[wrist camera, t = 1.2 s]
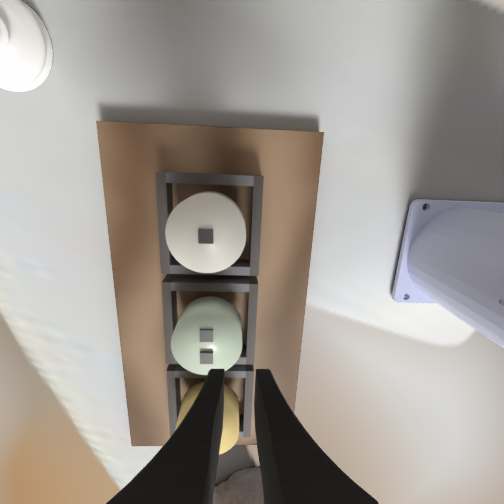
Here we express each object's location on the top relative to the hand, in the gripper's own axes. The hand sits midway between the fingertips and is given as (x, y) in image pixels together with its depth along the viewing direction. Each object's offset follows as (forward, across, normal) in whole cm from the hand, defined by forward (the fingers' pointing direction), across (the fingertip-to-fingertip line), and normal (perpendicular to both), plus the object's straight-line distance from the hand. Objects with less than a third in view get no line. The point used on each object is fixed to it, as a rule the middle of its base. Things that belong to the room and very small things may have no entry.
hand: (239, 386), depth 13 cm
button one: (+7, +2, -6) cm, 9 cm away
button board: (+9, +2, +1) cm, 10 cm away
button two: (+7, +2, +1) cm, 7 cm away
